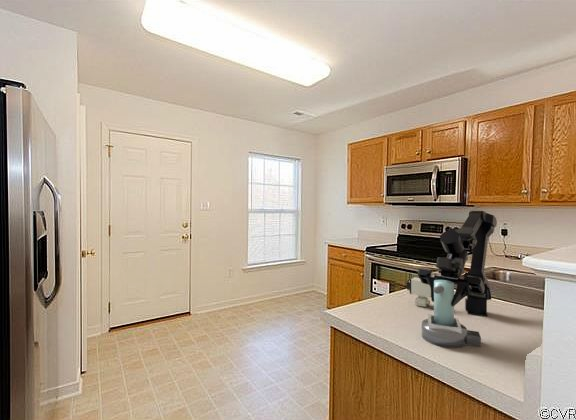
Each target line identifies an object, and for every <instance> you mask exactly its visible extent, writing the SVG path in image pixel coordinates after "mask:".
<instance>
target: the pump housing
mask: <svg viewBox="0 0 576 420" xmlns="http://www.w3.org/2000/svg"><path fill="white" fill-rule="evenodd" d="M433 291H434V302H433V315H434V323H435V324H438V325H445V326H454V318H455V306H452V305H451V304H452V300H453V297H454V294H455V284H454V282H452V281H448V280H434V289H433Z"/></svg>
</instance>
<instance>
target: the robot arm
mask: <svg viewBox="0 0 576 420" xmlns="http://www.w3.org/2000/svg"><path fill="white" fill-rule="evenodd" d="M497 220H498V219H497V217H496V216H495V215H493V214H491V213H487V212H486V211H484V210H471V211H470V210H469V212H468V216H467V218H466V219H465V221H464V222H463V224H462V225H461V227H460V228H455V227H454V228H452V227H451V228H450V227H449V228H448V230H446V231H444V232H442V233H441V234H440V235H439V240H440V243H441V245H442V248H443V249H444V251H445V253H447V254H446V257H442V256H441V257H440V256H438V257H437V258H436V264H435V267H436V268H437V269H438V271H437V272H438V273H439V274H436V273H435V272H433V270H432V269H430V268H429V269H428V268H420V269H418V271H417V276H418V278H420V280H421V282H422V283H424V284H428V285H429V286H430V287H431V297H430V298H431V300H430V301H432V303H434V291H433V289H434V280H448V281H452V282H454V285H456V290H455V291H454V297H453V300H452V304H451V305H452V306H454V307H455V306H456V305H457V304H458V303H460V301H461V300H463V299H464V309H465V311H466V312H467V314H468V315H474V316H482V317H484V316H485V317H488V316H489V314H488V303H487V302H488V301H489V300H490V301H492V290H491V288H490V285H489V280H488V279H487V276H486V274H485V267H486V259H487V252H488V251H487V250H488V244H489V243H488V242H489V238H490V237H491V235H493V233H494V232H495V227H497V224H498V221H497ZM468 250H469V251H470V250H472V254H471V259H470V261H471V262H470V269H469V270H468V271H466V272H465V266H466V263H467V261H468V255H469V253H468ZM462 276H463V278H462Z"/></svg>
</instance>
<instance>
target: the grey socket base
mask: <svg viewBox="0 0 576 420" xmlns="http://www.w3.org/2000/svg"><path fill="white" fill-rule="evenodd" d="M421 337H422V339H423V340H424V341H426V342H427V343H430V344H432V345H434V346H438V347H442V348H447V349H448V348H449V349H459V348H461V349H462V348H465V347H466V346H472V347H479V348H481V346H482V345H481V343H482V342H481V341H482V338H481V337H482V336H481V334H480V331H476V330H470V329H467V327H466V326H465V325H464V324H461V323H460V319H459V318H458V317H454V326H445V325H438V324H435V323H434V314H427V318H426V319H423V320H422V321H421Z"/></svg>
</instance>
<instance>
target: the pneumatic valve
mask: <svg viewBox="0 0 576 420" xmlns="http://www.w3.org/2000/svg"><path fill="white" fill-rule="evenodd" d="M406 290H407V291H409V295H415V296H417V297H416V298H415V299H414V303H415V305H416V306H417V307H421V308H427V307H428V306H430V305H431V300H430V299H429V298H431V287H430V286H429V285H428V284H424V283H422V282H421V280H420V278H419V277H416V276H412V277H411V278H409V279H407V281H406Z"/></svg>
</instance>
